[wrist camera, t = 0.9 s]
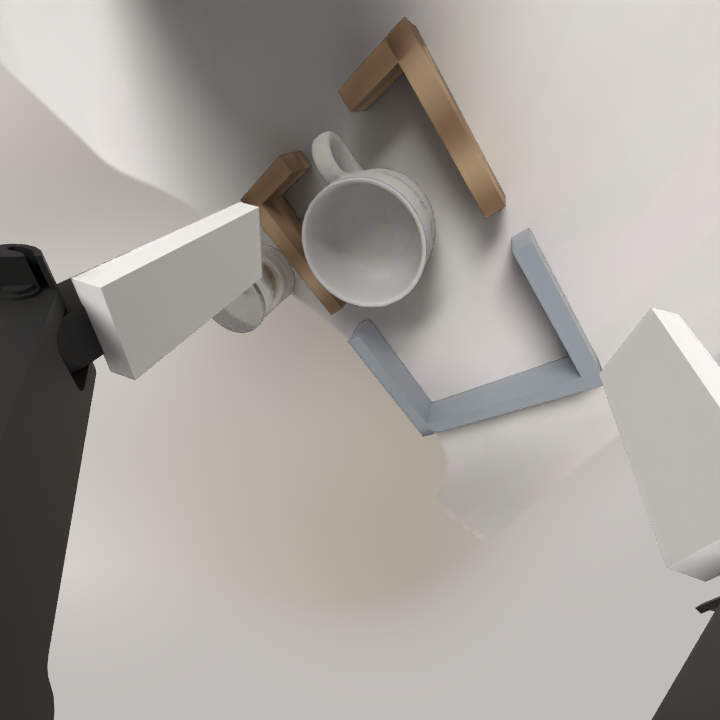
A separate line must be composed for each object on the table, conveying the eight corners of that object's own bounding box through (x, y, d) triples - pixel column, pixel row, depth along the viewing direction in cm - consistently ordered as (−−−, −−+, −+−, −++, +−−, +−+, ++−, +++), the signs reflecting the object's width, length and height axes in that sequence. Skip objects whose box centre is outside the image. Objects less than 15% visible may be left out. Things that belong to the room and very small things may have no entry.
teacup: (447, 268, 35) (436, 303, 29) (349, 282, 40) (321, 315, 34) (425, 102, 28) (404, 102, 22) (309, 140, 33) (264, 150, 27)
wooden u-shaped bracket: (262, 191, 37) (240, 199, 34) (415, 26, 26) (404, 16, 23) (344, 298, 41) (331, 314, 38) (505, 195, 30) (505, 206, 27)
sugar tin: (229, 263, 43) (186, 289, 37) (265, 229, 39) (222, 252, 33) (270, 311, 46) (235, 342, 40) (308, 283, 41) (275, 314, 35)
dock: (358, 324, 42) (347, 341, 39) (529, 227, 31) (532, 241, 28) (428, 414, 47) (423, 436, 44) (598, 360, 36) (607, 384, 33)
